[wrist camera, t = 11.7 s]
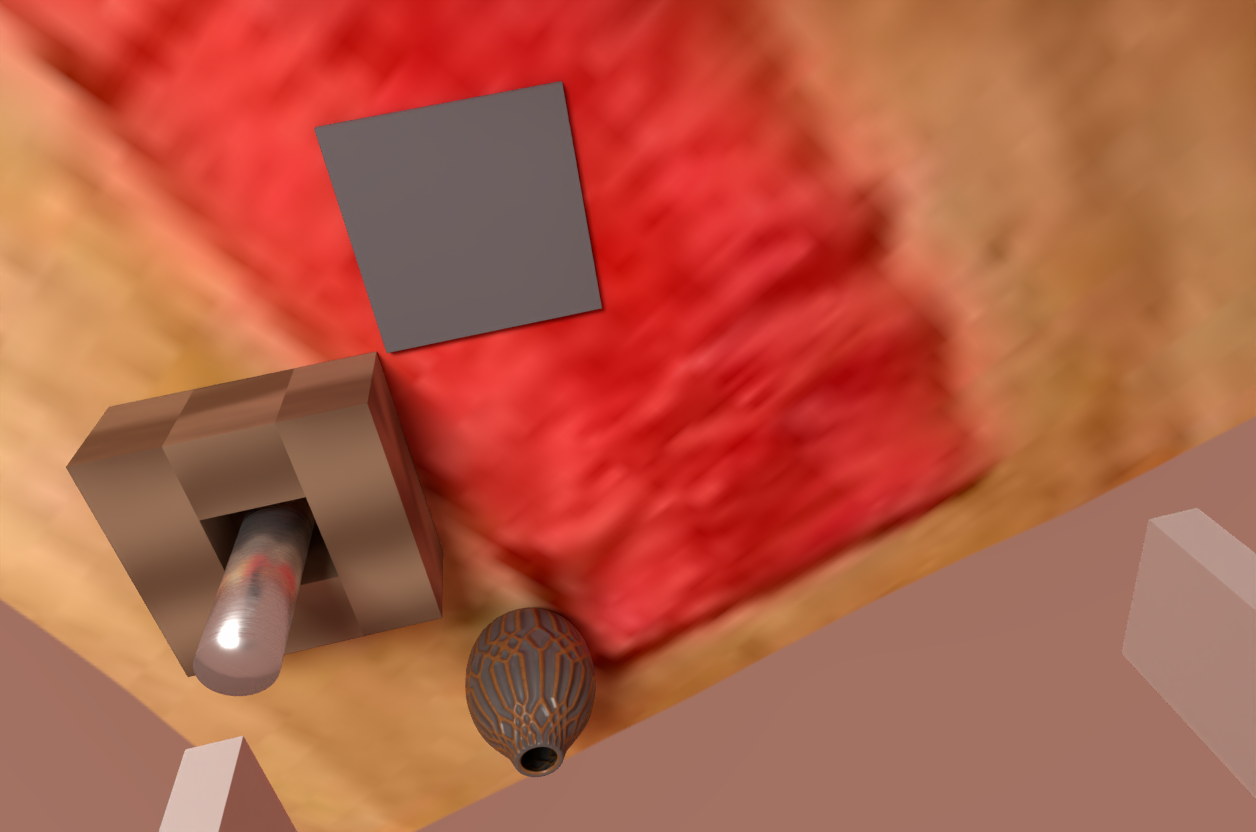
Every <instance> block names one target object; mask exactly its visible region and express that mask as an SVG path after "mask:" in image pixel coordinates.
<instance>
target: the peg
mask: <svg viewBox="0 0 1256 832" xmlns="http://www.w3.org/2000/svg"><path fill="white" fill-rule="evenodd" d="M314 523H315V518H314V516H313V513H312V511H311V508H310V506H309V504H308V501H307V499H306V497H304V498H299V499H295V500H290V501H285V502H281V503H276V504H272V505H267V506H263V507H258V508H254V509H249V510H246V513H245V516H244V519H243V522H242V524H241V527H240V530H239V533H238V536H237V539H236V541H235V544H234V547H233V550H232V553H231V556H230V558H229V561H228V564H227V567H226V570H225V572H224V575H223V578H222V581H221V584H220V587H219V589H218V592H217V595H216V598H215V601H214V604H213V606H212V609H211V612H210V615H209V618H208V620H207V623H206V626H205V629H204V632H203V635H202V637H201V640H200V643H199V646H198V649H197V652H196V654H195V657H194V660H193V669H194V673H195V675H196V677H197V678H198V680H199V681H200V682H201V683H202V684H203V685H204V686H206V687H207V688H209V689H211V690H213V691H215V692H217V693H221V694H224V695H230V696H247V695H252V694H256V693H258V692H261V691H263V690H265V689H267V688H268V687H270V686H271V685H272V684H273V683H274V682H275V681H276V679H277V678H278V676H279V673H280V669H281V665H282V661H283V656H284V652H285V648H286V644H287V639H288V635H289V631H290V626H291V622H292V618H293V613H294V609H295V605H296V601H297V596H298V592H299V588H300V583H301V579H302V575H303V570H304V566H305V562H306V557H307V553H308V549H309V545H310V540H311V536H312V532H313V527H314Z"/></svg>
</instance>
